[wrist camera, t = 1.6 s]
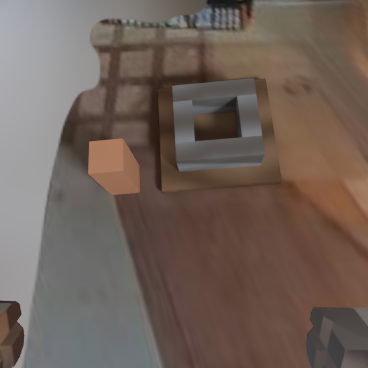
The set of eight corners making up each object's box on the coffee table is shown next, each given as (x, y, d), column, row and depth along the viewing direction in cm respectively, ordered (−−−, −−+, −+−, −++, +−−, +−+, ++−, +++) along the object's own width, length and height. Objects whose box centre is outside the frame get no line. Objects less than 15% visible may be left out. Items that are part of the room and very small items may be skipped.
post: (111, 168, 46) (89, 141, 37) (139, 165, 46) (123, 138, 37) (111, 194, 45) (88, 173, 36) (139, 192, 44) (123, 170, 36)
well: (158, 92, 49) (153, 72, 44) (264, 82, 48) (270, 60, 43) (162, 192, 44) (157, 181, 39) (280, 183, 43) (288, 171, 38)
